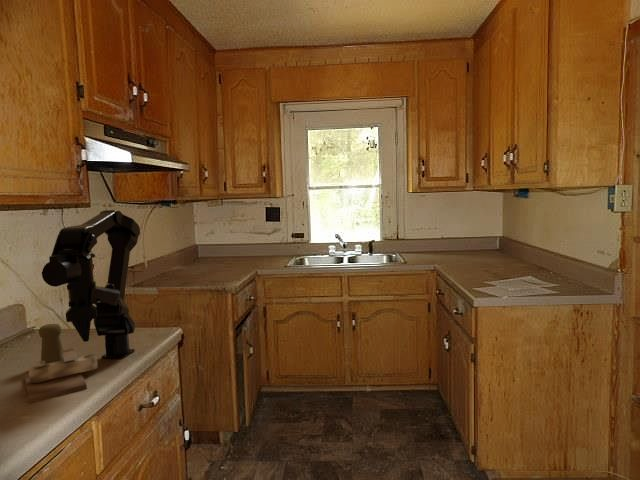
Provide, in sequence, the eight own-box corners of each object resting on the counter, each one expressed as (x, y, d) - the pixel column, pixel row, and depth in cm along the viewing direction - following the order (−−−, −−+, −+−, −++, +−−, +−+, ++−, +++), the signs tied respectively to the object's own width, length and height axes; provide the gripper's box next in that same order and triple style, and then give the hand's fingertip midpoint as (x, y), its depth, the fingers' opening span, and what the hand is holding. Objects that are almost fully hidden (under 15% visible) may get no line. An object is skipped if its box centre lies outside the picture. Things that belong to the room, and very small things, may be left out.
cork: (60, 359, 131) (56, 320, 129) (70, 363, 127) (66, 323, 126) (36, 365, 126) (32, 325, 125) (46, 370, 122) (41, 329, 121)
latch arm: (30, 384, 109) (29, 372, 109) (29, 378, 113) (28, 366, 113) (99, 369, 117) (98, 357, 117) (96, 364, 121) (95, 353, 121)
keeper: (35, 388, 110) (33, 364, 109) (32, 379, 116) (30, 356, 116) (79, 378, 115) (77, 354, 115) (74, 369, 122) (72, 347, 121)
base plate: (25, 378, 117) (24, 374, 117) (76, 367, 123) (76, 363, 123) (28, 402, 102) (28, 398, 102) (86, 388, 109) (86, 384, 109)
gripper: (117, 280, 109) (122, 345, 110) (115, 270, 126) (120, 327, 127) (62, 286, 104) (69, 354, 106) (69, 275, 121) (74, 333, 123)
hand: (86, 341), depth 116 cm, fingers closed
